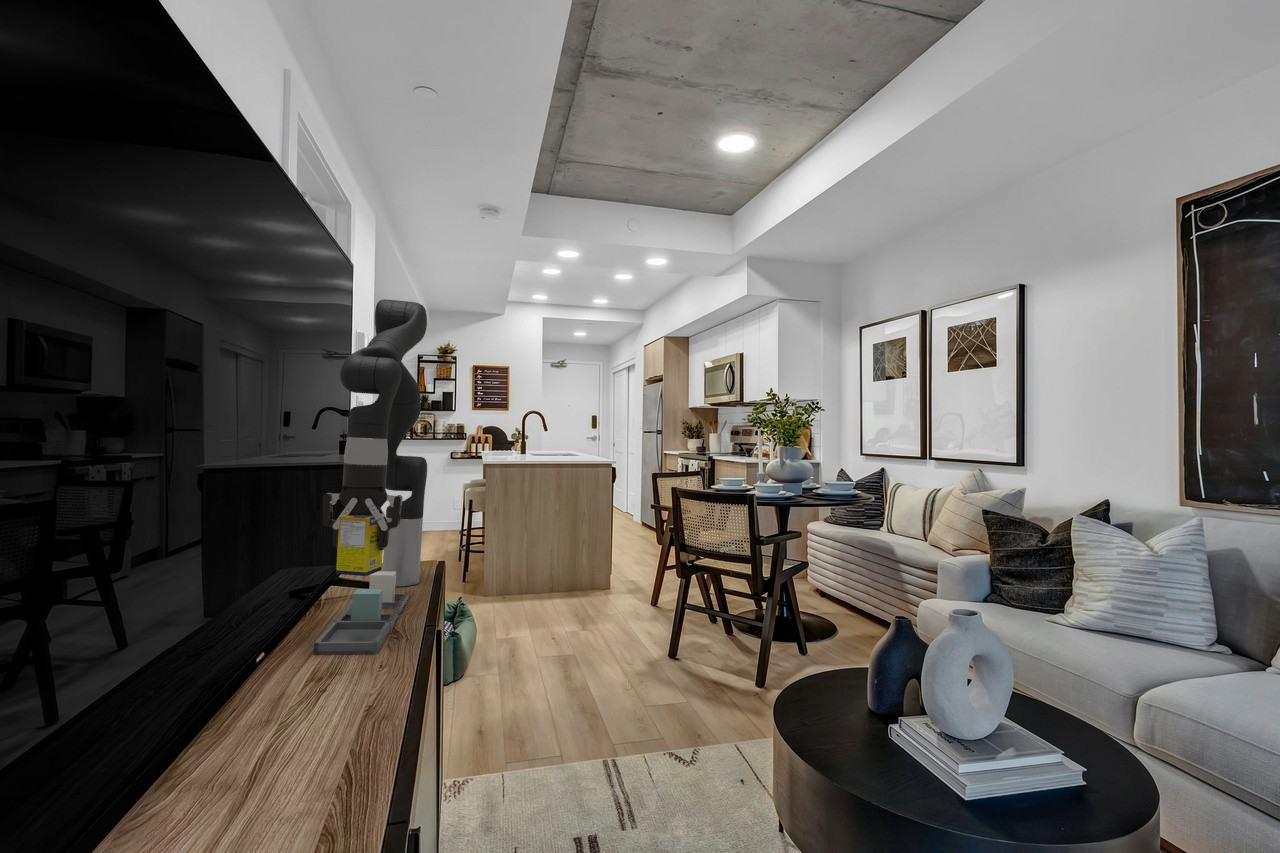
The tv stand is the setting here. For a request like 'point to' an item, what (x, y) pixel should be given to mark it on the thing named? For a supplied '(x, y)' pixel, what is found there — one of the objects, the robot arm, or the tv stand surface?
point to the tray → (352, 638)
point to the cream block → (384, 584)
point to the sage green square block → (367, 605)
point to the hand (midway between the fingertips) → (360, 549)
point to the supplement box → (358, 546)
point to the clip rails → (390, 617)
